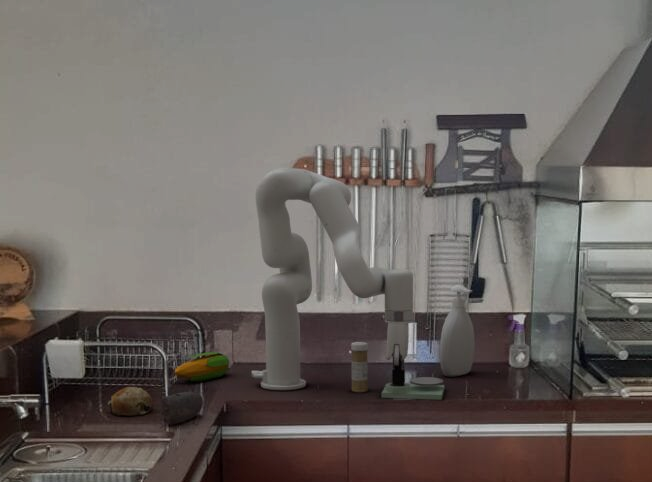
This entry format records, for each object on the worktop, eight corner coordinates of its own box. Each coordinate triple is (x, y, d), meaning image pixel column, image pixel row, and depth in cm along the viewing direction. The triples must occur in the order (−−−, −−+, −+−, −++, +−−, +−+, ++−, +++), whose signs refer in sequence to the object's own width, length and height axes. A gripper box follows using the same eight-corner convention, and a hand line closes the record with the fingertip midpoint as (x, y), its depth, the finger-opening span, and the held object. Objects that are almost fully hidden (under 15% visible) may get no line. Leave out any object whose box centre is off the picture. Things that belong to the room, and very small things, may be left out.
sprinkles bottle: (361, 388, 250) (361, 340, 247) (371, 391, 246) (371, 343, 244) (347, 390, 247) (347, 342, 245) (357, 393, 243) (357, 344, 241)
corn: (235, 349, 265) (183, 359, 248) (237, 374, 266) (185, 386, 249) (217, 348, 269) (165, 358, 253) (219, 373, 270) (167, 385, 254)
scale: (381, 398, 239) (381, 387, 238) (387, 388, 251) (387, 377, 250) (441, 400, 237) (441, 389, 236) (444, 390, 249) (444, 379, 248)
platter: (408, 385, 241) (408, 383, 240) (412, 378, 249) (412, 376, 249) (442, 386, 240) (442, 384, 239) (444, 379, 248) (444, 377, 248)
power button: (390, 390, 240) (390, 385, 239) (391, 388, 243) (391, 382, 243) (403, 391, 239) (403, 385, 239) (405, 388, 243) (405, 382, 242)
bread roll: (129, 432, 216) (139, 404, 214) (96, 410, 219) (107, 382, 217) (154, 422, 226) (164, 395, 223) (123, 401, 228) (133, 375, 226)
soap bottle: (453, 380, 261) (455, 288, 256) (432, 376, 267) (434, 285, 262) (484, 373, 272) (486, 284, 267) (463, 369, 277) (465, 282, 272)
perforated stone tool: (193, 412, 221) (193, 384, 220) (211, 414, 219) (210, 387, 218) (153, 426, 208) (152, 397, 207) (172, 429, 206) (171, 399, 205)
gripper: (388, 312, 245) (388, 378, 249) (381, 319, 231) (380, 389, 234) (415, 312, 245) (415, 378, 248) (410, 320, 230) (409, 390, 233)
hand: (398, 383), depth 241 cm, fingers closed
